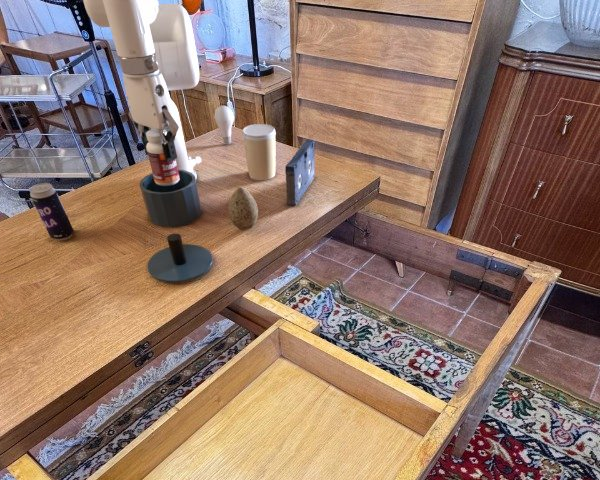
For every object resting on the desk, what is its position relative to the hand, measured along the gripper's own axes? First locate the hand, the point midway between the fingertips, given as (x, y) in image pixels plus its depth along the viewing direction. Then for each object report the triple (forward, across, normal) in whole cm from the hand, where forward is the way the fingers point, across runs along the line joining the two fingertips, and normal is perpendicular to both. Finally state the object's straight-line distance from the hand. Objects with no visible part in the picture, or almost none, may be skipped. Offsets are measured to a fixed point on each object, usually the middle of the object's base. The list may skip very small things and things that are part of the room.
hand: (161, 155), depth 105 cm
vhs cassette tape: (+15, -20, -29) cm, 38 cm away
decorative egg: (+15, -20, -5) cm, 25 cm away
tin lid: (+14, -19, +16) cm, 28 cm away
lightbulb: (+15, +20, -42) cm, 49 cm away
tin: (+14, 0, 0) cm, 14 cm away
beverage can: (+15, +15, +24) cm, 32 cm away
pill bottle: (+6, 0, 0) cm, 6 cm away
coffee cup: (+15, -4, -31) cm, 35 cm away
